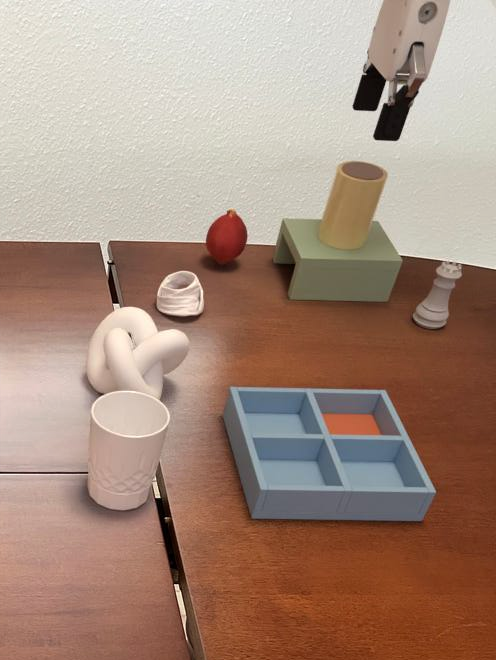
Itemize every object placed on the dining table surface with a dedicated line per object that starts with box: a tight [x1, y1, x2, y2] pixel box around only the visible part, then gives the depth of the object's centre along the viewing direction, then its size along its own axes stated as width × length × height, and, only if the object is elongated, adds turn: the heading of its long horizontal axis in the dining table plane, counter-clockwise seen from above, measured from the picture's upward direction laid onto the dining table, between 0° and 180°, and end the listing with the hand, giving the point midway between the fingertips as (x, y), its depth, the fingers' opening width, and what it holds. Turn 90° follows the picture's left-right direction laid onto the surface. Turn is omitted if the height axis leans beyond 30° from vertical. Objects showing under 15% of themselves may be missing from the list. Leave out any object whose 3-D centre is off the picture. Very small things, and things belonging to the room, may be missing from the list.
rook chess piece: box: [412, 260, 463, 330], centre depth 119 cm, size 4×4×8 cm
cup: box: [317, 160, 389, 250], centre depth 121 cm, size 7×7×9 cm
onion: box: [205, 208, 248, 266], centre depth 128 cm, size 6×6×8 cm
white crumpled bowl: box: [156, 270, 205, 317], centre depth 120 cm, size 8×7×5 cm
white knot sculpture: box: [85, 306, 190, 401], centre depth 105 cm, size 11×12×9 cm
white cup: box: [86, 391, 171, 511], centre depth 92 cm, size 8×8×10 cm
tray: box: [222, 386, 437, 522], centre depth 99 cm, size 18×18×4 cm
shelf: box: [272, 217, 403, 303], centre depth 126 cm, size 14×12×6 cm
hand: (374, 124), depth 113 cm, fingers open, 9 cm apart
